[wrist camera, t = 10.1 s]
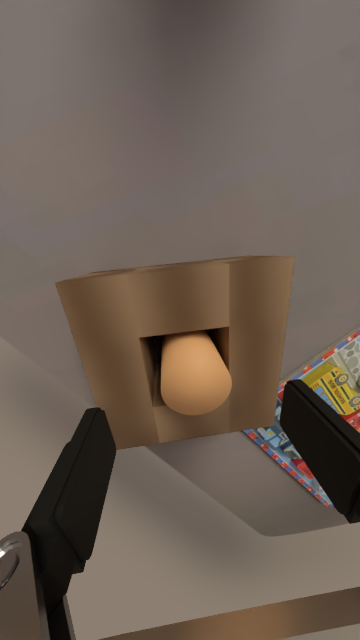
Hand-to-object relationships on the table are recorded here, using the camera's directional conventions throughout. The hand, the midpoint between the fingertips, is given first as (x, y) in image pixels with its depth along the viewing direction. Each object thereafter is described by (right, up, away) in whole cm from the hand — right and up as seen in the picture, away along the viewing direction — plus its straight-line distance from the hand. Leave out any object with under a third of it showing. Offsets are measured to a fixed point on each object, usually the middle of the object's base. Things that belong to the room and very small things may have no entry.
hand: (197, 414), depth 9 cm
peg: (-1, +4, +9) cm, 10 cm away
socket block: (-1, +3, +9) cm, 10 cm away
